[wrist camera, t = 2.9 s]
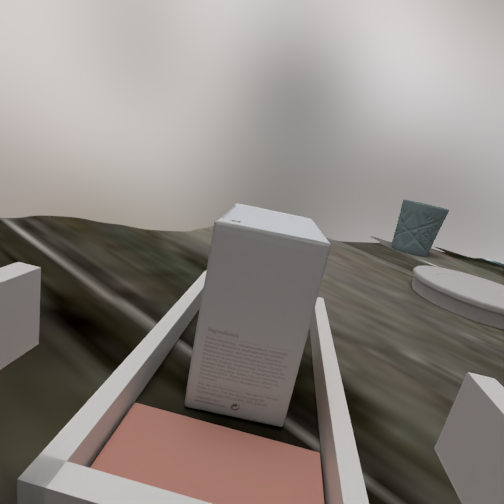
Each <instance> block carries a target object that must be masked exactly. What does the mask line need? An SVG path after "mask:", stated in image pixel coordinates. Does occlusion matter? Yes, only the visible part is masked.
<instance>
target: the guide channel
mask: <svg viewBox="0 0 504 504" xmlns="http://www.w3.org/2000/svg"><path fill="white" fill-rule="evenodd" d="M206 272H207V271H206V270H205V272H204V273H203V274H202V275H201V276H200V277H199V278H198V279H197V280H196V282H195V283H194V284H193V285H192V286H191V287H190V288H189V289H188V290H187V292H186V293H185V294H184V295H183V296H182V297H181V298H180V299H179V300H178V302H177V303H176V304H175V305H174V306H173V307H172V308H171V309H170V310H169V311H168V313H167V314H166V315H165V316H164V317H163V318H162V319H161V320H160V321H159V323H158V324H157V325H156V326H155V327H154V328H153V329H152V330H151V331H150V333H149V334H148V335H147V336H146V337H145V338H144V339H143V340H142V341H141V343H140V344H139V345H138V346H137V347H136V348H135V349H134V350H133V351H132V353H131V354H130V355H129V356H128V357H127V358H126V359H125V360H124V361H123V363H122V364H121V365H120V366H119V367H118V368H117V369H116V370H115V371H114V372H113V374H112V375H111V376H110V377H109V378H108V379H107V380H106V381H105V382H104V384H103V385H102V386H101V387H100V388H99V389H98V390H97V391H96V392H95V394H94V395H93V396H92V397H91V398H90V399H89V400H88V401H87V402H86V404H85V405H84V406H83V407H82V408H81V409H80V410H79V411H78V412H77V414H76V415H75V416H74V417H73V418H72V419H71V420H70V421H69V422H68V424H67V425H66V426H65V427H64V428H63V429H62V430H61V431H60V432H59V433H58V435H57V436H56V437H55V438H54V439H53V440H52V441H51V442H50V443H49V445H48V446H47V447H46V448H45V449H44V450H43V451H42V452H41V453H40V455H39V456H38V457H37V458H36V459H35V460H34V461H33V462H32V463H31V465H30V466H29V467H28V468H27V469H26V470H25V471H24V472H23V473H22V475H21V476H20V477H19V478H18V479H17V504H212V503H209V502H205V501H202V500H198V499H195V498H191V497H188V496H185V495H181V494H178V493H174V492H171V491H167V490H164V489H161V488H157V487H154V486H150V485H147V484H143V483H140V482H137V481H133V480H130V479H126V478H123V477H119V476H116V475H112V474H109V473H106V472H102V471H99V470H95V469H92V468H89V467H90V465H91V464H92V463H93V461H94V460H95V458H96V457H97V455H98V454H99V452H100V451H101V450H102V448H103V447H104V445H105V444H106V442H107V441H108V439H109V438H110V437H111V435H112V434H113V432H114V431H115V429H116V428H117V427H118V425H119V424H120V422H121V421H122V419H123V418H124V416H125V415H126V414H127V412H128V411H129V409H130V408H131V406H132V405H133V404H134V402H135V401H136V399H137V398H138V396H139V395H140V393H141V392H142V391H143V389H144V388H145V386H146V385H147V383H148V382H149V381H150V379H151V378H152V376H153V375H154V373H155V372H156V370H157V369H158V368H159V366H160V365H161V363H162V362H163V360H164V359H165V357H166V356H167V355H168V353H169V352H170V350H171V349H172V347H173V346H174V345H175V343H176V342H177V340H178V339H179V337H180V336H181V334H182V333H183V332H184V330H185V329H186V327H187V326H188V324H189V323H190V322H191V320H192V319H193V317H194V316H195V314H196V313H197V311H198V310H199V309H200V305H201V299H202V294H203V288H204V282H205V277H206ZM309 328H310V338H311V349H312V360H313V371H314V382H315V392H316V403H317V414H318V425H319V436H320V446H321V457H322V468H323V479H324V489H325V500H326V504H369V502H368V497H367V493H366V488H365V484H364V479H363V475H362V470H361V466H360V461H359V457H358V452H357V448H356V443H355V439H354V434H353V430H352V425H351V421H350V416H349V412H348V407H347V403H346V398H345V394H344V389H343V385H342V380H341V376H340V371H339V367H338V362H337V358H336V353H335V349H334V344H333V340H332V335H331V331H330V326H329V322H328V317H327V313H326V308H325V304H324V299H323V298H320V297H317V301H316V305H315V308H314V312H313V316H312V320H311V323H310V327H309Z"/></svg>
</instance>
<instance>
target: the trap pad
mask: <svg viewBox="0 0 504 504" xmlns="http://www.w3.org/2000/svg"><path fill="white" fill-rule="evenodd" d="M90 468H92V469H95V470H99V471H102V472H106V473H109V474H112V475H116V476H119V477H123V478H126V479H130V480H133V481H137V482H140V483H143V484H147V485H150V486H154V487H157V488H161V489H164V490H167V491H171V492H174V493H178V494H181V495H185V496H188V497H191V498H195V499H198V500H202V501H205V502H209V503H212V504H324V494H323V483H322V472H321V460H320V453H319V452H315V451H311V450H308V449H304V448H300V447H297V446H293V445H289V444H286V443H282V442H278V441H275V440H271V439H267V438H264V437H260V436H256V435H253V434H249V433H245V432H242V431H238V430H234V429H231V428H227V427H223V426H219V425H216V424H212V423H208V422H205V421H201V420H197V419H194V418H190V417H186V416H183V415H179V414H175V413H172V412H168V411H164V410H161V409H157V408H153V407H150V406H146V405H142V404H139V403H134V405H133V406H132V407H131V409H130V410H129V412H128V413H127V415H126V416H125V418H124V419H123V420H122V422H121V423H120V425H119V426H118V428H117V429H116V431H115V432H114V433H113V435H112V436H111V438H110V439H109V441H108V442H107V444H106V445H105V446H104V448H103V449H102V451H101V452H100V454H99V455H98V457H97V458H96V459H95V461H94V462H93V464H92V465H91V467H90Z"/></svg>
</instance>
